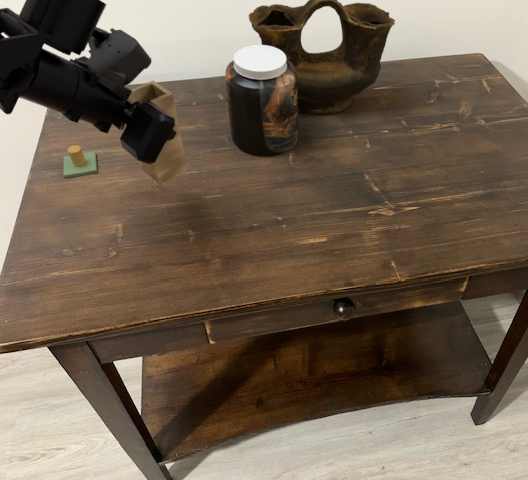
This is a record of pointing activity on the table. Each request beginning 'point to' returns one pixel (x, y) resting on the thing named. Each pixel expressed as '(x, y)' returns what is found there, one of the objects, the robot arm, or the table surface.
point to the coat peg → (79, 162)
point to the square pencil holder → (173, 151)
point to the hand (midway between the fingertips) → (164, 128)
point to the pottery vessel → (331, 62)
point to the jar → (262, 100)
